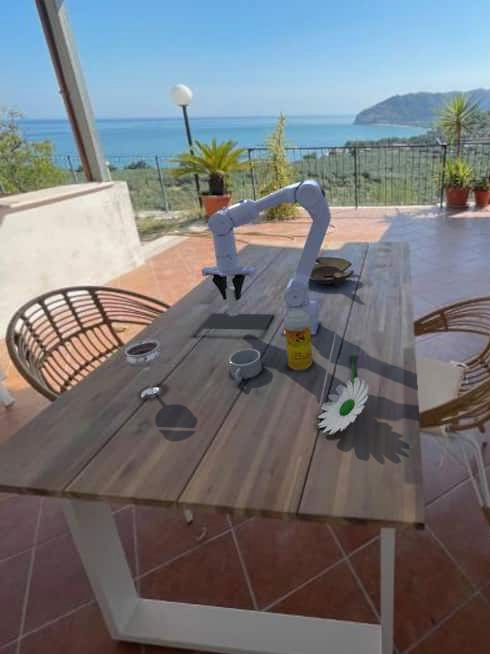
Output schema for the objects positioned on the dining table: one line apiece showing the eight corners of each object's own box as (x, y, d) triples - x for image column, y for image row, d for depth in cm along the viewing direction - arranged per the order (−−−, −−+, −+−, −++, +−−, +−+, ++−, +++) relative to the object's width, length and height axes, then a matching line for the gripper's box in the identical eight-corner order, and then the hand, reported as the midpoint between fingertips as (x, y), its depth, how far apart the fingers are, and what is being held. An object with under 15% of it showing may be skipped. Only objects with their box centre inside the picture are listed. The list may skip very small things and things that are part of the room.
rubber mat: (273, 315, 125) (273, 314, 125) (261, 338, 112) (260, 336, 112) (212, 314, 126) (212, 313, 126) (193, 336, 113) (193, 335, 113)
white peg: (241, 311, 116) (238, 286, 113) (237, 316, 113) (234, 291, 110) (230, 311, 116) (227, 286, 113) (226, 316, 113) (223, 290, 110)
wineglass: (147, 406, 85) (135, 359, 81) (130, 395, 89) (118, 350, 84) (175, 389, 91) (165, 344, 86) (158, 379, 94) (148, 336, 90)
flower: (367, 336, 101) (366, 402, 72) (378, 352, 102) (381, 424, 73) (325, 361, 103) (307, 435, 74) (337, 376, 104) (324, 456, 75)
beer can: (292, 375, 95) (288, 320, 90) (285, 362, 100) (280, 310, 95) (315, 368, 98) (312, 315, 93) (307, 356, 103) (304, 305, 98)
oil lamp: (352, 267, 167) (352, 250, 164) (356, 295, 139) (356, 275, 136) (300, 268, 166) (298, 251, 163) (293, 297, 138) (292, 277, 135)
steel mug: (237, 362, 101) (235, 348, 99) (265, 362, 100) (263, 348, 99) (222, 387, 91) (219, 372, 89) (253, 388, 91) (251, 373, 89)
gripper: (194, 258, 104) (201, 304, 109) (247, 258, 104) (252, 304, 109) (205, 250, 111) (211, 293, 116) (255, 250, 110) (259, 294, 115)
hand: (232, 298), depth 113 cm, fingers closed on white peg, 3 cm apart
